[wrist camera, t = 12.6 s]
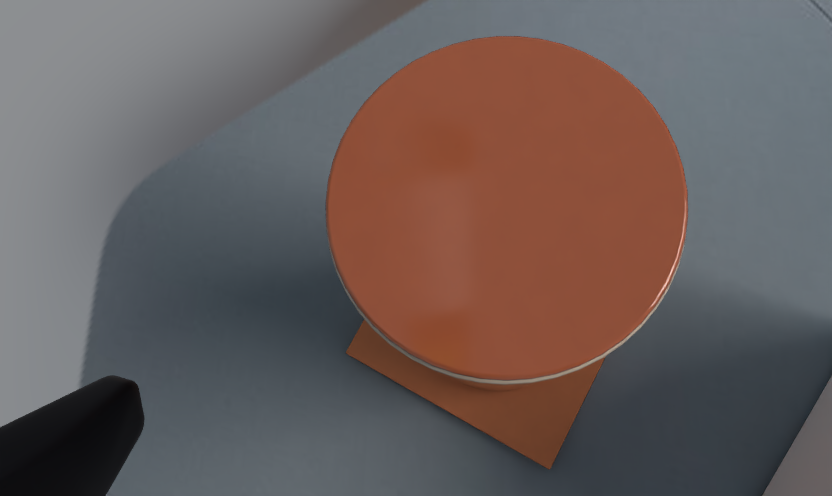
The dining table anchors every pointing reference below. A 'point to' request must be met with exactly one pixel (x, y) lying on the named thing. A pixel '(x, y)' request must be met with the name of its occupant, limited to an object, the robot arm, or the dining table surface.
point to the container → (808, 455)
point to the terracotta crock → (506, 211)
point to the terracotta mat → (488, 398)
